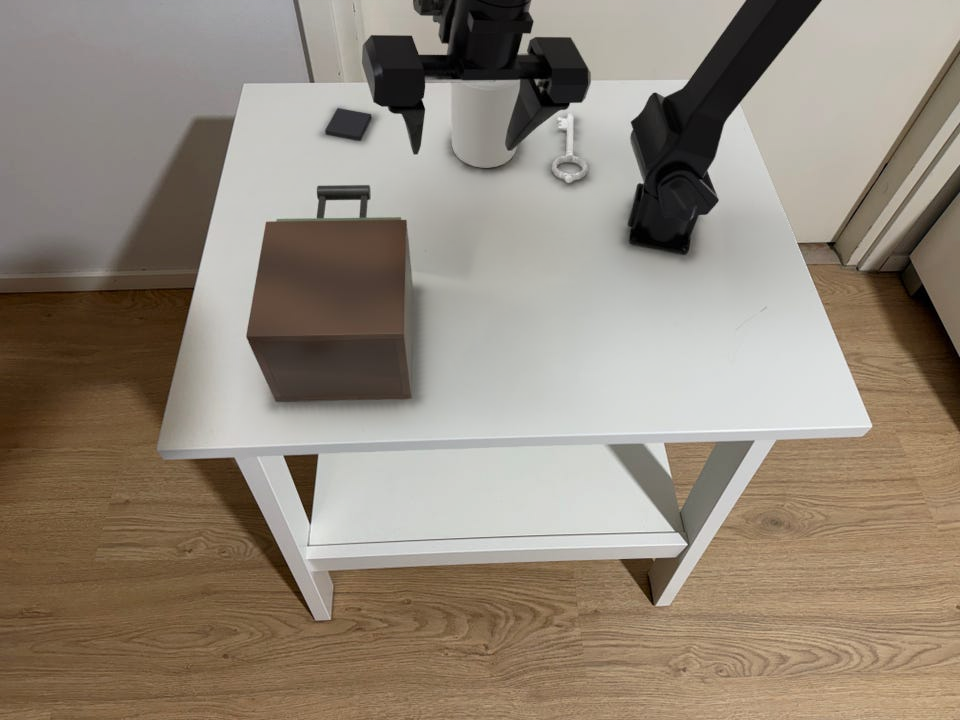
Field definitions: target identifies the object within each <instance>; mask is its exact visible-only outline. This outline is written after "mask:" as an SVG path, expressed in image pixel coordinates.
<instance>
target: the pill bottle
mask: <svg viewBox="0 0 960 720" xmlns="http://www.w3.org/2000/svg"><path fill="white" fill-rule="evenodd" d="M518 53H520V51H519V52H518ZM450 84H451V85H450V87H451V90H450V92H451V94H450V95H451V97H450V98H451V99H450V100H451V108H450V111H451V112H450V113H451V114H450V115H451V116H450V117H451V119H450V121H451V126H450V127H451V131H450V133H451V135H450V136H451V146H452V151H453V152H454V154H455V156H456V157H457V158H458V159H459V160H460V161H461V162H463V163H465V164H467V165H469V166H471V167H475V168H482V169H487V168H496V167H499V166H502V165H504V164H507V163H508V162H509V161H511V159H512V158H513V157H514V155H515V154H516V151H517V148H518V145H517V146H516V147H515V148H514V149H513V150H512V151H508V150H507V148H506V146H505V140H506V134H507V129H508V126H509V122H510V119H511V116H512V113H513V109H514V106H515V103H516V100H517V97H518V93H519V89H520V80H496V81H495V82H479V83H450Z"/></svg>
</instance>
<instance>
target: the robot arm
mask: <svg viewBox="0 0 960 720" xmlns="http://www.w3.org/2000/svg"><path fill="white" fill-rule="evenodd" d="M821 2H823V0H745V1H744V2H743V4H742V5H741V6H740V7H739V9H738V10H737V12H736V13H735V15H734V16H733V18H732V19H731V21H730V22H729V23H728V24H727V26H726V27H725V29H724V30H723V32H722V33H721V34H720V36H719V37H718V39H717V40H716V41H715V43H714V44H713V46H712V47H711V48H710V50H709V52H708V53H707V54H706V55H705V56H704V58H703V60H702V61H701V63H700V64H699V66H698V67H697V68H696V69H695V71H694V72H693V74H692V76H691V77H690V78H689V79H688V81H687V82H686V83H685V85H684V86H683V87H681V88H680V89H679V90H676V91H674V92H672V93H669V94H668V95H665V96H664V95H662V94H660V93H658V92H653V93H651V94H650V95H649V97H648V99H647V101H646V103H645V105H644V107H643V109H642V111H641V112H640V113H639V114H638V115H637V116H636V117H634V118H632V120H631V121H630V126H631V128H632V131H631V133H630V137H629V140H630V144H631V148H632V151H633V154H634V158H635V161H636V163H637V167H638V170H639V173H640V176H641V180H642V183H640V182H639V183H637V184H636V187H635V190H634V194H633V198H632V202H631V205H630V208H629V214H628V218H627V219H628V221H627V227H628V228H630V229H629V230H630V231H629V236H628V243H629V244H630V245H634V246H640V247H644V248H650V249H654V250H660V251H664V252H670V253H674V254H675V253H676V254H679V255H680V254H681V255H687V254H689V251H690V249H691V240H692V235H693V233H694V229H695V226H696V225H697V223H698V219H699V216H706V215H708V214H709V213H711V211H713V208H715V206H716V205H717V204H718V203H719V201H720V199H719V196H718V194H717V192H716V189H715V187H714V184H713V182H712V179H711V176H710V174H709V172H708V171H709V169H710V167H711V165H712V164H713V162H714V160H715V159H716V156H717V152H718V149H719V146H720V141H721V139H722V134H723V130H724V128H725V127H724V126H725V124H726V122H727V120H728V119H729V118H730V116H731V115H732V114H733V113H734V112H735V110H736V109H737V108H738V106H739V105H740V104H741V102H742V101H743V100H744V99H745V97H746V96H747V95H748V94H749V93H750V91H751V90H752V89H753V88H754V87H755V85H756V84H757V82H758V81H759V80H760V79H761V78H762V77H763V75H764V74H765V72H766V71H767V70H768V69H769V67H770V66H771V65H772V64H773V63H774V61H775V60H776V59H777V57H779V55H780V54H781V53H782V52H783V50H784V49H785V47H786V46H787V45H788V44H789V42H790V41H791V40H792V39H793V37H794V36H795V35H796V34H797V33H798V31H799V30H800V29H801V28H802V26H804V24H805V23H806V21H807V20H808V19H809V17H810V16H811V15H812V14H813V12H814V11H816V9H817V7H818V6H820V4H821ZM531 4H532V0H412V7H413V10H414V11H415V12H416V13H417V14H418V15H419V16H421V17H423V16H424V17H425V16H426V17H432V21H433V23H438V24H439V28H438V38H439V40H440V43H441V44H444V45H446V44H447V49H446V54H419V51H418V48H417V46H416V42H415V40H414V38H413V35H406V34H405V35H400V34H398V35H397V34H391V35H390V34H370V36H369V37H368V38H367V39H366V40H365V42H364V43H363V44H362V49H361V51H362V52H361V54H362V55H361V65H362V69H363V72H364V75H365V78H366V82H367V85H368V88H369V92H370V95H371V98H372V102H373V103H374V104H376V105H378V106H380V107H381V108H382V107H383V108H384V107H387V110H388V111H389V112H390V113H391V114H394V115H401V117H402V119H403V121H404V124H405V127H406V131H407V136H408V140H409V144H410V149H411V151H412V154H413V155H419V152H420V149H421V147H422V140H423V131H424V124H425V115H426V108H425V104H424V101H423V99H424V98H425V93H426V92H425V91H426V84H451V83H479V82H495V81H496V80H520V89H519V93H518V97H517V100H516V103H515V106H514V109H513V113H512V116H511V119H510V122H509V126H508V129H507V134H506V140H505V146H506V148H507V150H508V151H512V150H513V149H514V148H515V147H516V146H517V147H518V146H519V145H520V144H521V143H522V142H523V141H524V140H525V139H526V138H528V136H529V135H531V133H533V132H534V131H535V130H536V129H537V128H539V127H540V126H541V125H543V123H545V122H546V121H548V120H549V119H550V118H551V117H553V116H554V115H555V114H557V113H558V112H560V111H565V110H566V111H567V110H568V109H569V107H570V105H571V104H582V103H583V102H584V101H585V100H586V98H587V94H588V92H589V89H590V87H591V83H592V73H591V70H590V69H589V66H588V65H587V63H586V61H585V60H584V58H583V56H582V54H581V52H580V50H579V49H578V46H577V44H576V42H574V40H573V38H572V37H570V36H569V37H568V36H535V37H532V38H531V39H530V40H529V42H528V45H527V49H526V53H524V52H520V48H521V43H522V41H523V35H525V34H527V35H528V34H529V35H531V34H532V30H533V26H534V22H535V21H534V19H533V16H532V15H531V13H530V8H531ZM518 52H519V53H518Z"/></svg>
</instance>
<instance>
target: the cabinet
mask: <svg viewBox="0 0 960 720" xmlns="http://www.w3.org/2000/svg"><path fill="white" fill-rule="evenodd" d="M409 241H410V240H409V229H408V221H407V219H401V220H348V221H276V220H275V221H273V220H271V221H265V224H264V232H263V237H262V242H261V247H260V248H261V249H260V253H259V260H258V265H257V271H256V275H255V276H256V277H255V283H254V288H253V295H252V298H251V299H252V300H251V305H250V312H249V317H248V323H247V329H246V334H245V337H246V340H247V342H248V345H249V347H250V349H251V351H252V354H253V355H254V357H255V360H256V362H257V364H258V366H259V369H260V370H261V371H260V372H261V373H262V375H263V377H264V379H265V381H266V384H267V386H268V388H269V391H270V393H271V395H272V397H273V399H274V402H277V403H278V402H314V401H315V402H317V401H356V400H358V401H359V400H361V401H363V400H407V399H408V400H409V399H412V398H413V394H412V393H413V351H414V350H413V349H414V348H413V345H414V341H413V340H414V283H413V272H412V263H411V261H412V260H411V252H410V250H411V249H410V243H409Z"/></svg>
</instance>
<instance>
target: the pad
mask: <svg viewBox="0 0 960 720" xmlns="http://www.w3.org/2000/svg"><path fill="white" fill-rule="evenodd" d="M371 120H372V114H371V113H368V112H363V111H357V110H352V109H345V108H340V107H337V108H336V110H335V112H334V114H333V116H332V117H331V119H330V120H329V123H328V125H327V126H326V128H325V131H324V132H325V133H324V134H325V135H328V136H333V137H339V138H344V139H350V140H354V141H361V139H362V138H363V136H364V134H365V131H366V130H367V127H368V126H369V124H370V122H371Z"/></svg>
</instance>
